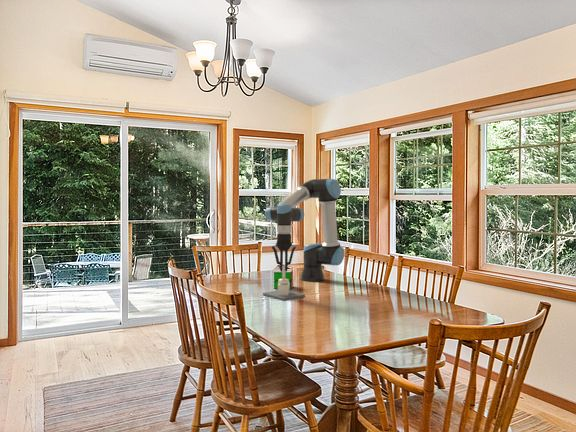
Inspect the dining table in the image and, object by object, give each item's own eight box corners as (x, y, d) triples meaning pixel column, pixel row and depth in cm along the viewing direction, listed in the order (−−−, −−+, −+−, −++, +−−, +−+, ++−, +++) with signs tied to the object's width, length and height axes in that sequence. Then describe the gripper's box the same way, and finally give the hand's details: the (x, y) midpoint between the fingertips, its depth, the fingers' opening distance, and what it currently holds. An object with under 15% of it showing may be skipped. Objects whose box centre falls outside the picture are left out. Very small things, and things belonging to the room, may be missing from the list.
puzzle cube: (292, 286, 272) (292, 269, 272) (291, 289, 262) (291, 272, 262) (276, 285, 273) (276, 269, 273) (273, 289, 263) (274, 271, 263)
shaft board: (284, 291, 256) (284, 280, 256) (304, 296, 243) (304, 285, 243) (262, 295, 246) (262, 283, 246) (283, 300, 233) (283, 288, 233)
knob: (279, 292, 248) (279, 277, 248) (289, 292, 248) (289, 277, 248) (277, 295, 240) (277, 279, 240) (288, 295, 240) (288, 279, 240)
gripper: (271, 233, 240) (270, 278, 241) (295, 233, 239) (295, 278, 240) (272, 232, 248) (272, 276, 248) (296, 232, 247) (296, 276, 247)
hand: (283, 277), depth 244 cm, fingers closed
